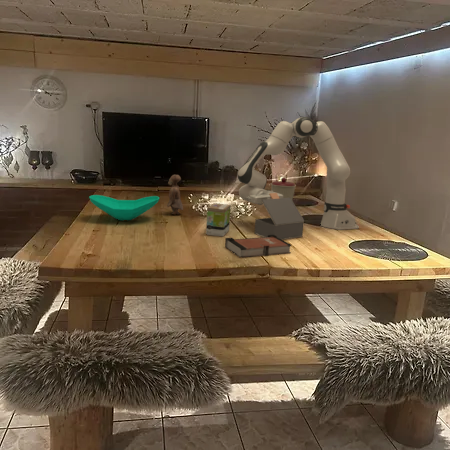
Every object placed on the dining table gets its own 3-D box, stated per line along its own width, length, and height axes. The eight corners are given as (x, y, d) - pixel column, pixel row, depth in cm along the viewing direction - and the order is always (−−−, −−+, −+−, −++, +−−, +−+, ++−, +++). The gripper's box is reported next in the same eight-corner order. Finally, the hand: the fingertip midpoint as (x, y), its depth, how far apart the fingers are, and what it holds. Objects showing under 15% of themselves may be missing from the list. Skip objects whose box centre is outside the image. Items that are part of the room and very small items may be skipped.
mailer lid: (286, 192, 242) (286, 191, 241) (303, 221, 233) (304, 220, 233) (258, 195, 231) (258, 194, 230) (275, 225, 222) (276, 224, 221)
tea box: (224, 236, 228) (225, 209, 224) (205, 235, 229) (206, 207, 226) (229, 230, 242) (231, 203, 238) (212, 228, 244) (213, 202, 240)
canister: (298, 207, 318) (300, 178, 313) (287, 210, 303) (290, 180, 298) (275, 203, 327) (277, 175, 322) (264, 207, 312) (266, 177, 307)
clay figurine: (168, 211, 281) (168, 172, 275) (183, 212, 282) (184, 173, 276) (166, 216, 269) (166, 175, 263) (182, 216, 269) (183, 176, 263)
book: (240, 259, 194) (241, 248, 192) (225, 248, 209) (225, 238, 208) (291, 254, 204) (292, 244, 203) (272, 244, 220) (273, 234, 218)
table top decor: (86, 224, 239) (85, 200, 236) (93, 213, 265) (92, 192, 262) (159, 225, 245) (159, 202, 242) (159, 214, 272) (159, 193, 269)
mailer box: (282, 229, 248) (283, 216, 246) (302, 236, 235) (303, 222, 233) (254, 233, 236) (255, 219, 234) (274, 241, 224) (275, 225, 222)
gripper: (245, 192, 239) (261, 196, 228) (273, 190, 251) (290, 194, 240) (244, 203, 241) (260, 208, 230) (272, 201, 252) (289, 205, 241)
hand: (275, 201), depth 235 cm, fingers closed, pressing on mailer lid
